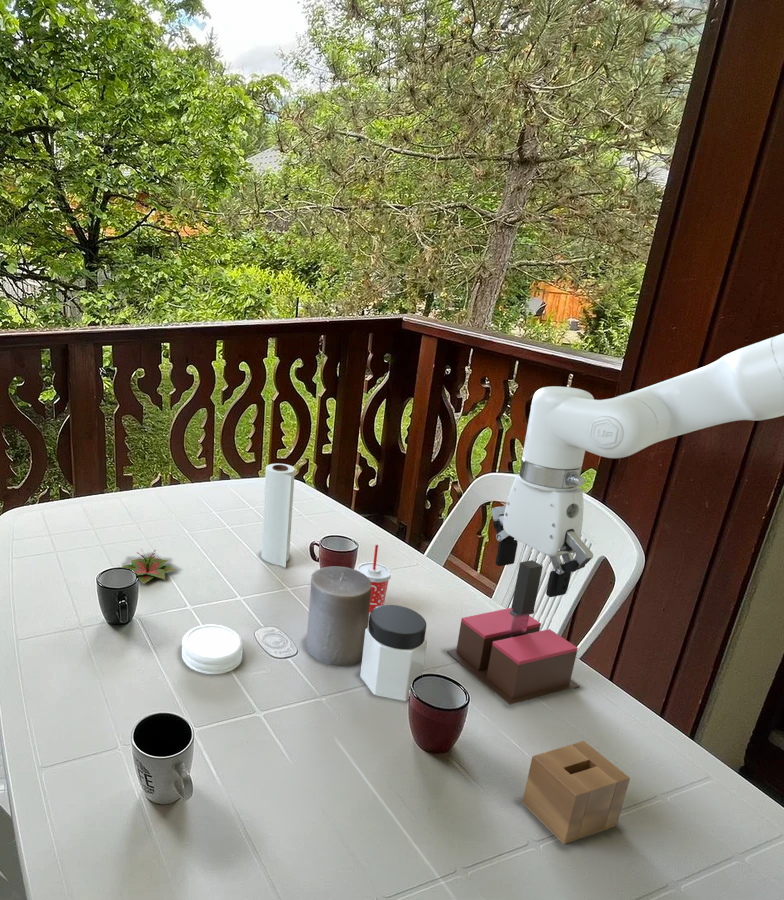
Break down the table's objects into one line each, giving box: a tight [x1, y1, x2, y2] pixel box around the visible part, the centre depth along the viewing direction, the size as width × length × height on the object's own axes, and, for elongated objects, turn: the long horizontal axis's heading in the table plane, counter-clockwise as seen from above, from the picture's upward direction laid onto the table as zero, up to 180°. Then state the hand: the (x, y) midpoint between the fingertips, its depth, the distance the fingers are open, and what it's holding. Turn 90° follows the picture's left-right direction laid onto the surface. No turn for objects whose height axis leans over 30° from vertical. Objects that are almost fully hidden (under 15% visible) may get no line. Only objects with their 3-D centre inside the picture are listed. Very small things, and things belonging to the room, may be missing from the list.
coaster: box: [181, 624, 244, 675], centre depth 104 cm, size 10×10×4 cm
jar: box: [359, 604, 428, 702], centre depth 97 cm, size 9×8×12 cm
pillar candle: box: [306, 565, 372, 667], centre depth 105 cm, size 10×10×15 cm
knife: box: [509, 560, 544, 638], centre depth 99 cm, size 4×2×19 cm, turn 108°
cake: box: [446, 607, 581, 705], centre depth 101 cm, size 14×14×8 cm
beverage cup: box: [356, 544, 392, 617], centre depth 116 cm, size 6×6×14 cm
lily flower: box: [120, 548, 177, 585], centre depth 132 cm, size 12×12×5 cm
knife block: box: [522, 740, 631, 845], centre depth 75 cm, size 8×6×8 cm
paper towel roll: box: [260, 463, 296, 568], centre depth 134 cm, size 7×6×21 cm
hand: (529, 578), depth 97 cm, fingers open, 9 cm apart
